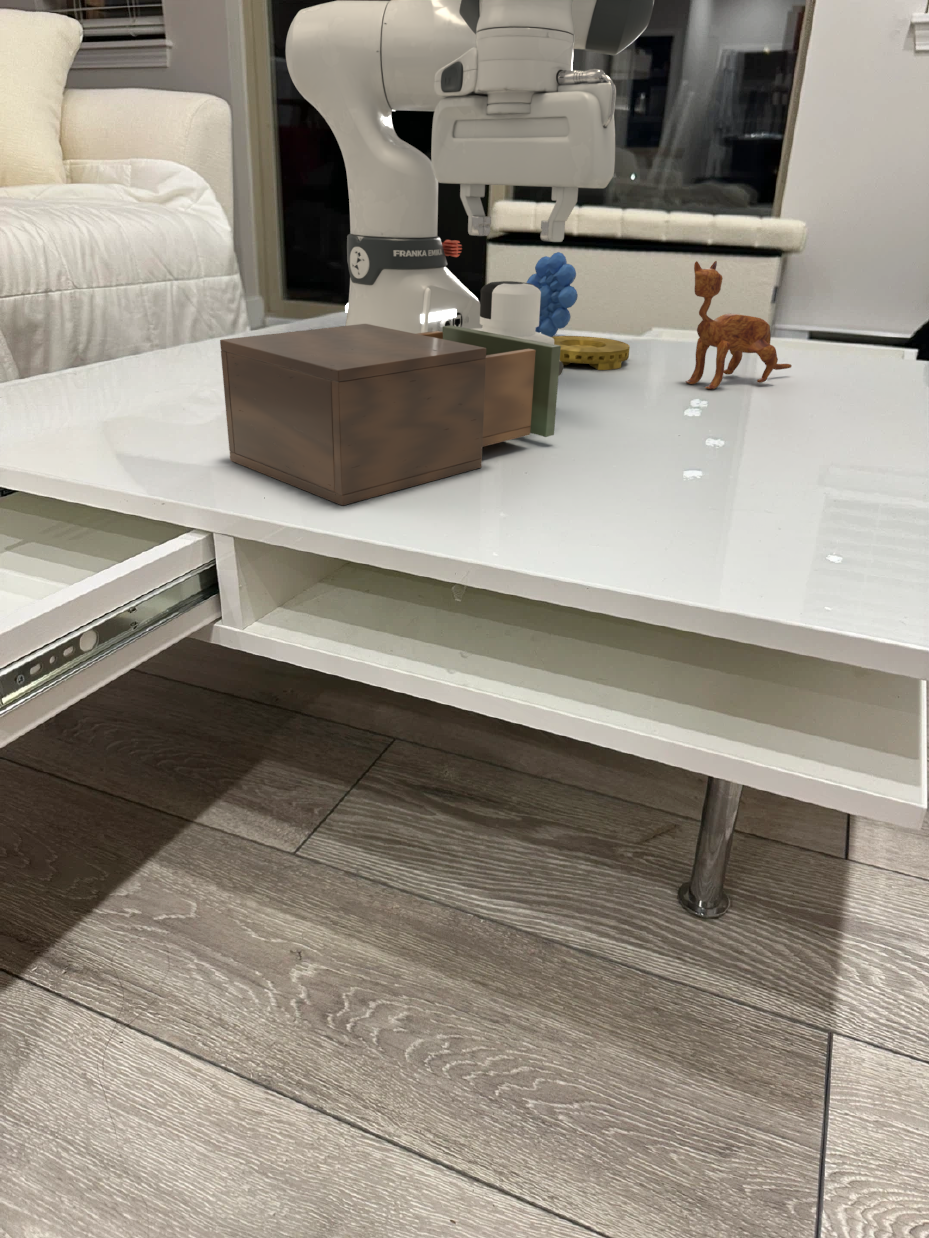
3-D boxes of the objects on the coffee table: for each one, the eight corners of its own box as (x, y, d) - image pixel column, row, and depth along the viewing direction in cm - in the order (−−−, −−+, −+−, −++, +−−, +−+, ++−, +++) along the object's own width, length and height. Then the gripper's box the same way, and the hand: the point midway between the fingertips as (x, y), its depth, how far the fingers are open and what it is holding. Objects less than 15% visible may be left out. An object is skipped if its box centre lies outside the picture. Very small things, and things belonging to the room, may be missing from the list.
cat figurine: (768, 371, 116) (789, 256, 110) (810, 381, 111) (834, 262, 105) (663, 382, 108) (679, 259, 101) (703, 394, 103) (722, 265, 96)
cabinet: (367, 431, 83) (365, 323, 79) (481, 467, 74) (486, 347, 70) (229, 460, 74) (219, 339, 70) (342, 506, 65) (338, 370, 61)
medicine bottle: (461, 397, 97) (464, 279, 92) (521, 394, 100) (528, 278, 94) (487, 413, 91) (492, 287, 86) (550, 409, 94) (559, 286, 88)
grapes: (594, 343, 131) (602, 254, 126) (556, 345, 128) (563, 255, 123) (548, 330, 140) (554, 247, 135) (512, 333, 137) (516, 247, 132)
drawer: (481, 400, 92) (485, 321, 89) (586, 426, 84) (594, 340, 81) (341, 429, 80) (338, 338, 77) (446, 463, 72) (449, 363, 69)
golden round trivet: (629, 356, 123) (631, 339, 122) (625, 373, 112) (627, 355, 111) (542, 350, 125) (543, 333, 124) (529, 366, 114) (531, 348, 113)
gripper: (638, 71, 78) (621, 245, 84) (467, 82, 90) (462, 232, 96) (594, 62, 74) (579, 246, 79) (421, 75, 86) (419, 232, 92)
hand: (514, 238), depth 88 cm, fingers open, 8 cm apart
